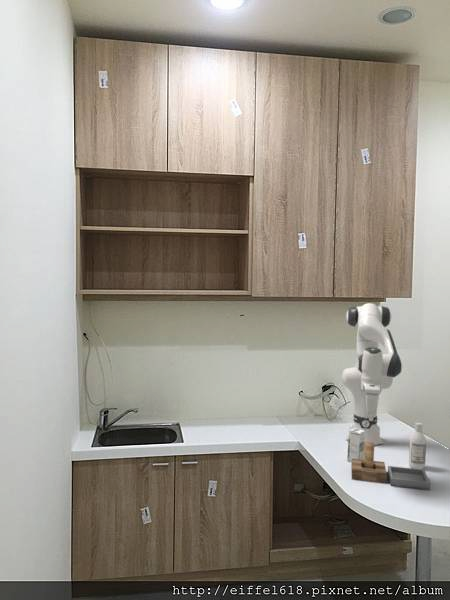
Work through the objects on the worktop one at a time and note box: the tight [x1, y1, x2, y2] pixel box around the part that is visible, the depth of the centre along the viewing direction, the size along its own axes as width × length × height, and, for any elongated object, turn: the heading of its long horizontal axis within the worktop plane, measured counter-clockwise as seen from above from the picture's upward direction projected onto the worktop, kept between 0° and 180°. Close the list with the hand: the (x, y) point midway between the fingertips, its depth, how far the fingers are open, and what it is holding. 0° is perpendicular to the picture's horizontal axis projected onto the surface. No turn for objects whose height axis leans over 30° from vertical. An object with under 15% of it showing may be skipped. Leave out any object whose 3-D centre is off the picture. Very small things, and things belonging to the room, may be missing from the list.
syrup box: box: [346, 428, 365, 463], centre depth 232 cm, size 6×6×14 cm
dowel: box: [364, 441, 375, 469], centre depth 216 cm, size 4×4×14 cm
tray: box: [387, 465, 431, 491], centre depth 210 cm, size 15×15×3 cm
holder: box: [350, 459, 388, 484], centre depth 216 cm, size 14×14×4 cm
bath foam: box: [408, 422, 427, 470], centre depth 227 cm, size 7×7×20 cm
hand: (370, 417), depth 215 cm, fingers open, 8 cm apart
